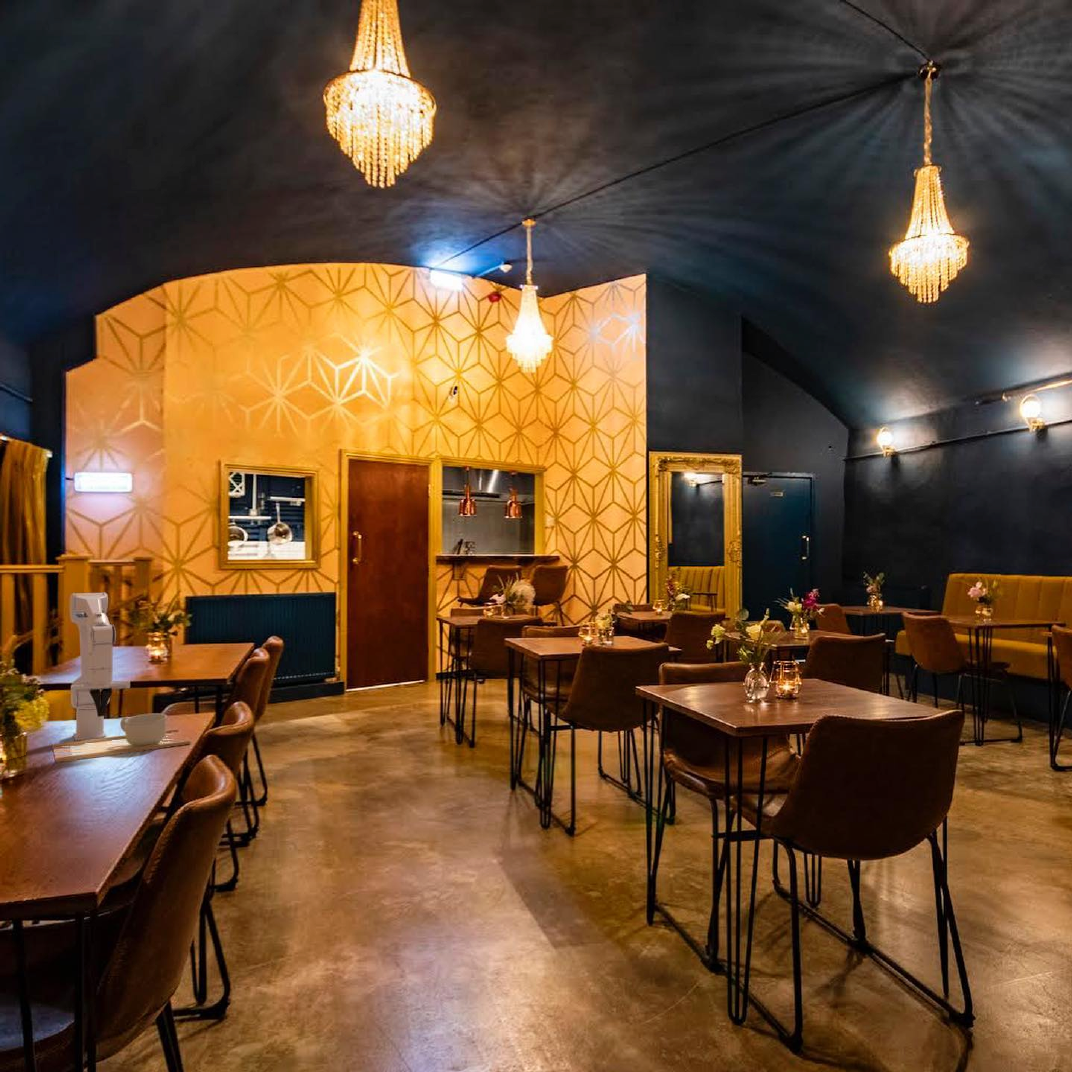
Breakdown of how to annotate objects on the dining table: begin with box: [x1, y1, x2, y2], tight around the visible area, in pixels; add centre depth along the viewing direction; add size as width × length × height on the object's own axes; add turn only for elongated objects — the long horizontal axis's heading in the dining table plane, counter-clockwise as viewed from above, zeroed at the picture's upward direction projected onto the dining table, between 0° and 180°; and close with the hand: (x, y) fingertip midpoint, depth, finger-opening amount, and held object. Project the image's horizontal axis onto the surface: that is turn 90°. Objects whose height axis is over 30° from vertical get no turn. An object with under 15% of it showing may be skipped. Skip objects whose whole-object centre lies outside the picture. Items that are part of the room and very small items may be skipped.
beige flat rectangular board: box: [51, 728, 191, 763], centre depth 217 cm, size 19×33×1 cm, turn 126°
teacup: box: [120, 712, 168, 747], centre depth 218 cm, size 14×11×8 cm
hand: (100, 715), depth 214 cm, fingers closed
